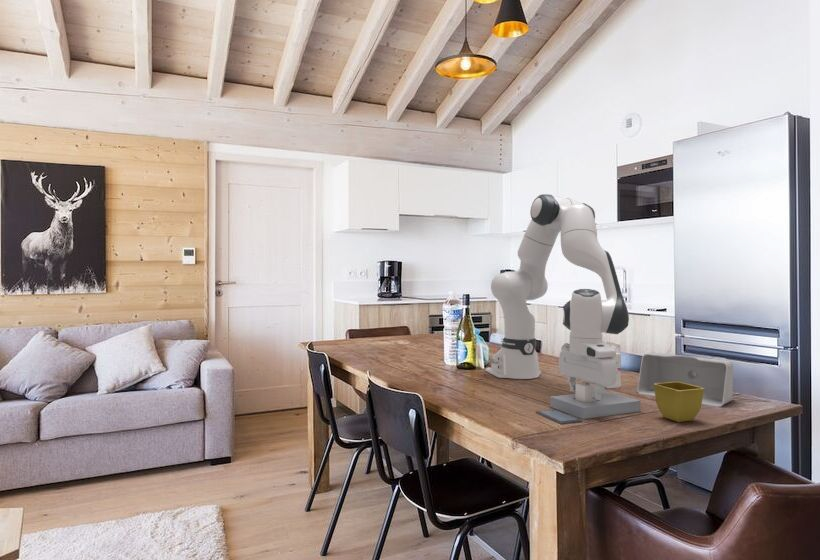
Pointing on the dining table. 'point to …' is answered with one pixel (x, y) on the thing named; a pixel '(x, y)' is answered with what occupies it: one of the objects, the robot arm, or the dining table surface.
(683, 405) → the flower pot
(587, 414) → the outlet board
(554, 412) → the phone slab
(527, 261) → the robot arm
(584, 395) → the block
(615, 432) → the dining table surface
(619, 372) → the ink cartridge box
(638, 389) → the tank
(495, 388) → the dining table surface
